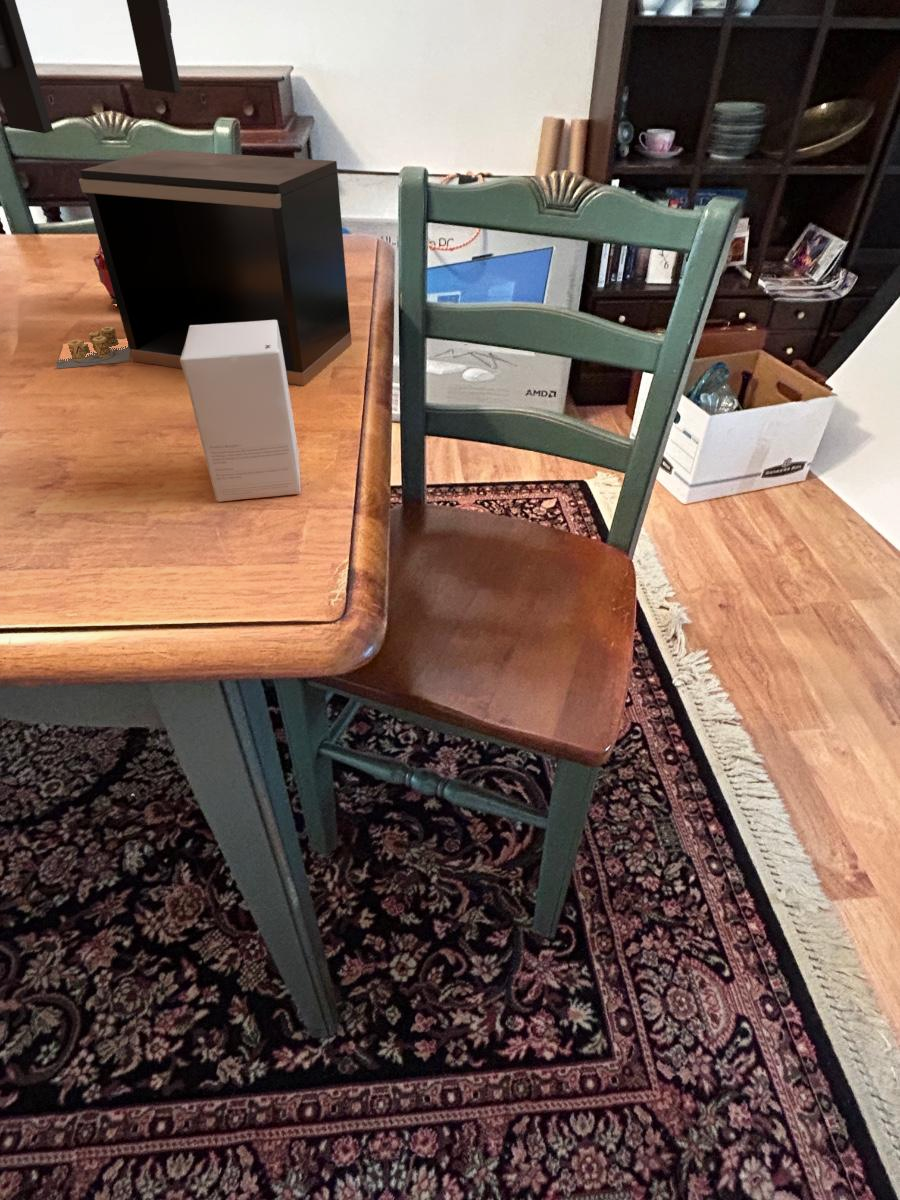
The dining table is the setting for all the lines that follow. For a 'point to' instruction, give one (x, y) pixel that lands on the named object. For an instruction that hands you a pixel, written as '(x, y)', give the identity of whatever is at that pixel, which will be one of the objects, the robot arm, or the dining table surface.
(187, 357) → the white packaging box
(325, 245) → the open cubby shelf
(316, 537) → the dining table surface
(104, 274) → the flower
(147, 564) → the dining table surface
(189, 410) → the dining table surface
